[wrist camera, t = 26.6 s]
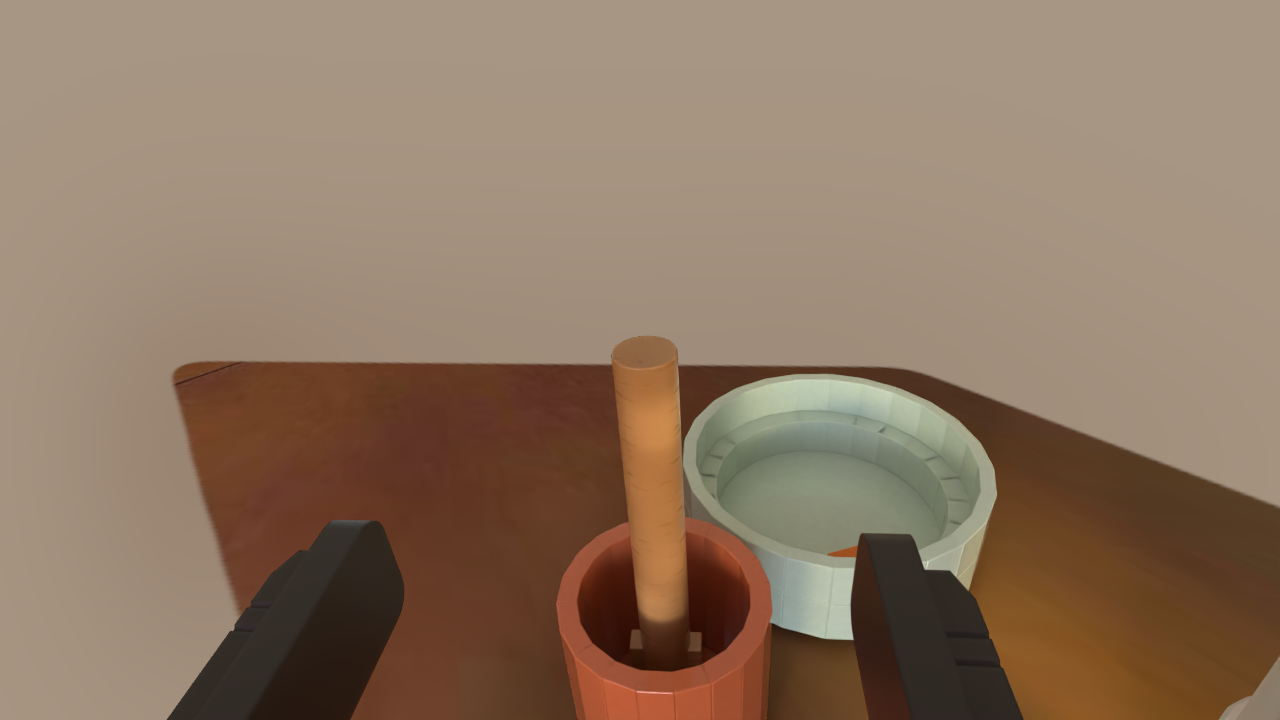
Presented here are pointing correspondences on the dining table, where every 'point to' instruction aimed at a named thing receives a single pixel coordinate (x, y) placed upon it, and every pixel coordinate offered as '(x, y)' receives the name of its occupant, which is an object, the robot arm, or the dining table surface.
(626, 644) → the crock
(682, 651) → the stirring stick
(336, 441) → the dining table surface
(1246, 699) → the candle
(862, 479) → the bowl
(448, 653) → the dining table surface
